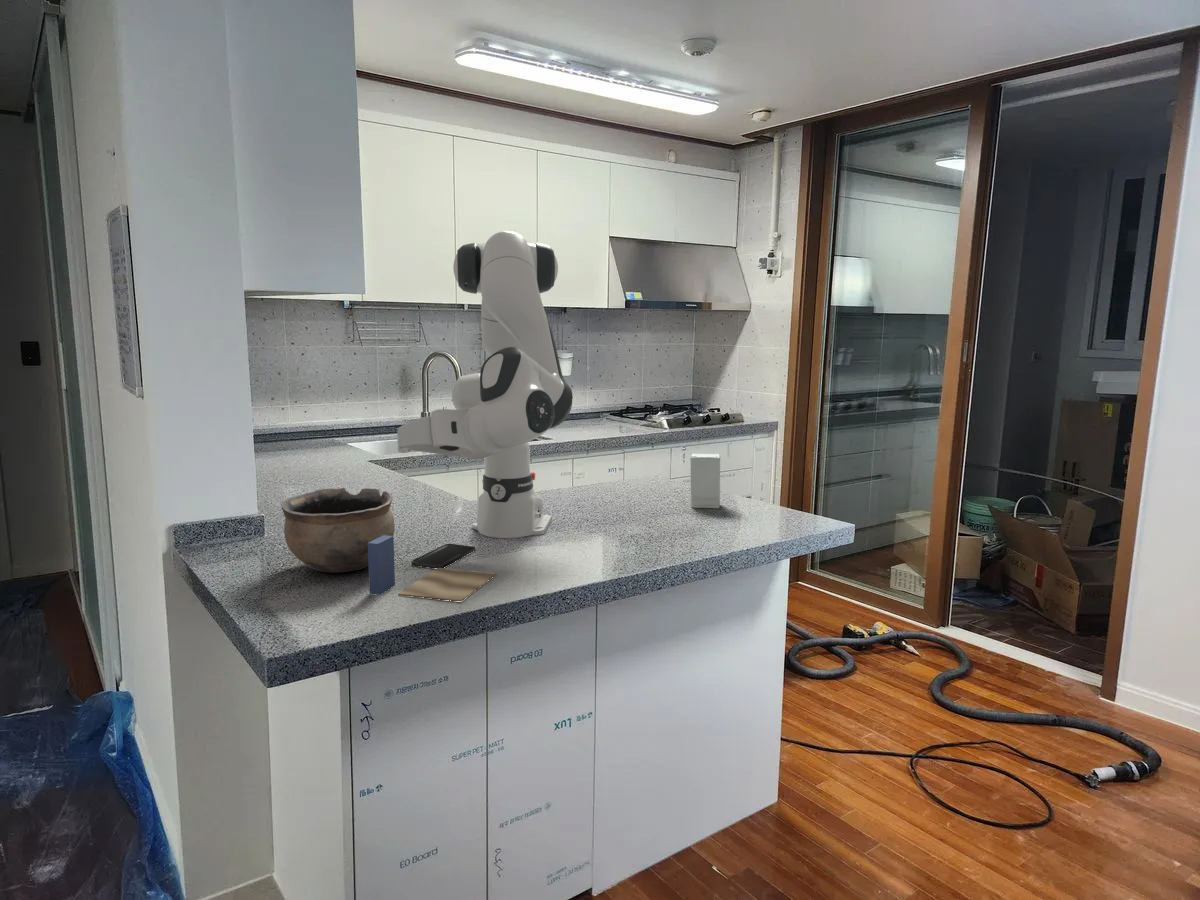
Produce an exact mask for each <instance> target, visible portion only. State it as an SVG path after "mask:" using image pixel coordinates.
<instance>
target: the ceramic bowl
mask: <svg viewBox="0 0 1200 900" xmlns="http://www.w3.org/2000/svg"><path fill="white" fill-rule="evenodd" d="M392 501H393V495H392V493H390V492H388V491H382V494H381V490H380V489H377V488H368V487H365V488H362V489H361V490H360V491H359V492H358V493H357V494H354V493H350V492H348V491H347V489H346V488H345V487H334V488H333V487H330V488H323V489H318V490H314V491H312V492H311V491H310V492H307V493H304V494H298V495H294V496H291V497H289V498H287V499H285V500H283V501H282V502H281V505H280V506H281V510H282V512H283V515H284V527H283V528H284V529H283V532H284V539H285V542H286V546H287V547H288V549H289V551H290V552H291V553H292V555H293V556H295V557H296V558H297V560H299V561H301V562H302V563H303V564H304V565H305V566H306V567H308V568H310V569H312V570H314V571H317V572H321V573H322V572H323V573H346V572H355V571H360V570H362V569H364V568H368V567H369V565H368V542H371V541H373V540H375V539H377V538H379V537H381V536H383V535H386V536H393V537H394V534H395V530H396V529H395V517H394V515H393V512H392V510H391V505H392Z"/></svg>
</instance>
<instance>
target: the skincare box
mask: <svg viewBox="0 0 1200 900" xmlns="http://www.w3.org/2000/svg"><path fill="white" fill-rule="evenodd" d="M720 504H721V455H720V453H692V454H691V456H690V508H691V509H692V508H697V509H720Z"/></svg>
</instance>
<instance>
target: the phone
mask: <svg viewBox="0 0 1200 900" xmlns="http://www.w3.org/2000/svg"><path fill="white" fill-rule="evenodd" d="M473 551H475V552H476V547H475V546H471V545H465V544H456V543H445V544H443V545H441V546H440V547H439V546H438V547H437V548H435V549H433V550H431V551H428V552H426V553H424V554H423V555H421V556H418V557H417V558H415V559H412V560H411V566H413V565H414V566H413V567H418V566H422V567H421V568H425V567H429V568H428V569H432V568H444V567H445V568H447V567H449V566H451V565H452V563H453V564H455V563H456V562H455V561H457V560H458V561H460V560H461V558H462V557H464V556H466V555H467V554H469V553H471V552H473ZM473 553H474V552H473ZM471 554H472V553H471ZM469 555H470V554H469ZM466 557H467V556H466ZM464 558H465V557H464ZM459 559H460V560H459ZM462 559H463V558H462ZM458 561H457V562H458ZM454 562H455V563H454ZM450 564H451V565H450ZM448 565H449V566H448ZM446 566H447V567H446Z"/></svg>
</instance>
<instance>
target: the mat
mask: <svg viewBox="0 0 1200 900" xmlns="http://www.w3.org/2000/svg"><path fill="white" fill-rule="evenodd" d="M495 575H497V574H496V573H493V572H485V571H483V572H482V571H473V570H461V569H454V568H447V567H445V568H437V569H434V570H432V571H431V572H429V573H427V574H426V575H425V576H423V577H421V578H420V579H418V580H417V581H415V582H414V583H412V584H410V585H408V586H407V587H406V588H404V589H403V590H401V591H400V592H398V593H397V596H399V595H401V597H407V596H413V597H412V598H416V597H424V598H423V599H425V598H432V599H431V600H433V599H440V600H439V601H442V600H449V601H448V602H450V600H451V601H462V600H464V599H465V598H466V597H468V596H469V595H470V594H472V593H473V592H474V591H475V590H477V589H478V588H479V587H480V586H482V585H483V584H484V583H486V582H487V581H488V580H490V579H491V578H492V577H493V578H495V577H496V576H495ZM494 576H495V577H494ZM493 578H492V579H493ZM492 579H491V580H492ZM491 580H490V581H491ZM488 582H489V581H488ZM488 582H487V583H488ZM487 583H486V584H487ZM484 585H485V584H484ZM484 585H483V586H484ZM483 586H482V587H483ZM479 589H480V588H479ZM479 589H478V590H479ZM478 590H477V591H478ZM474 593H475V592H474ZM474 593H473V594H474ZM473 594H472V595H473ZM470 596H471V595H470ZM470 596H469V597H470ZM469 597H468V598H469ZM465 600H466V599H465ZM465 600H464V601H465Z"/></svg>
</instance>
